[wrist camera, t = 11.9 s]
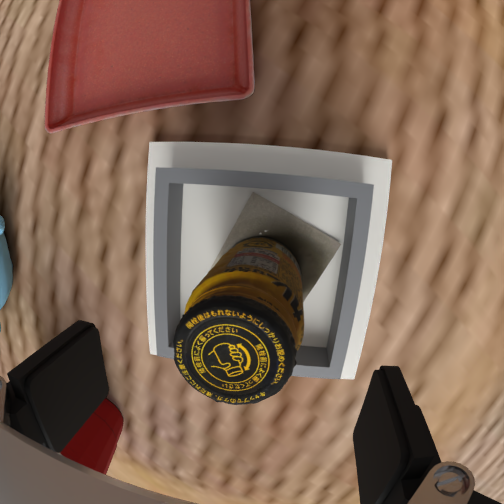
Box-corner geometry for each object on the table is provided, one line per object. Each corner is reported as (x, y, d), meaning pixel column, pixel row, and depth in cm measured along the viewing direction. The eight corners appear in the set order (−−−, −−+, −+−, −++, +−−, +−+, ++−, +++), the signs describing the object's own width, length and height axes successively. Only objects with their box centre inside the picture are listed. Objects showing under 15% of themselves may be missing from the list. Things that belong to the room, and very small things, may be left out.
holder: (155, 143, 24) (131, 138, 20) (387, 160, 22) (405, 158, 18) (154, 347, 28) (136, 371, 24) (352, 371, 26) (359, 400, 22)
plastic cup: (71, 356, 30) (4, 416, 19) (153, 410, 30) (106, 491, 19) (60, 409, 33) (10, 464, 21) (129, 455, 33) (91, 521, 21)
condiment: (200, 288, 25) (132, 371, 13) (253, 191, 23) (213, 206, 11) (280, 334, 25) (269, 443, 14) (340, 243, 23) (384, 307, 11)
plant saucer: (250, -58, 19) (245, -78, 16) (260, 107, 23) (255, 97, 20) (81, -14, 21) (64, -26, 18) (66, 138, 25) (44, 135, 22)
